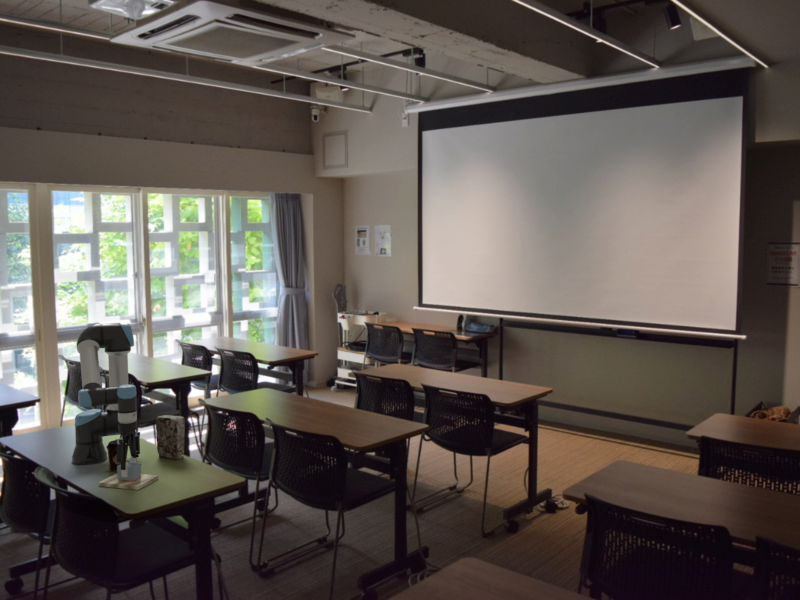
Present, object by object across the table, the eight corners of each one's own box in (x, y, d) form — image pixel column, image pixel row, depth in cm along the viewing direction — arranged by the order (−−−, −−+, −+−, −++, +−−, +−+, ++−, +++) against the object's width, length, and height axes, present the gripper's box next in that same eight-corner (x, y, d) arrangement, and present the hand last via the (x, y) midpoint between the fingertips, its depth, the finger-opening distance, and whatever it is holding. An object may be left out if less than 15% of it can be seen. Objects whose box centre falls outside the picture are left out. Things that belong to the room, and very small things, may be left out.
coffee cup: (131, 467, 307) (130, 440, 306) (118, 473, 300) (117, 445, 299) (116, 465, 310) (115, 438, 309) (103, 471, 302) (102, 443, 301)
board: (98, 485, 284) (98, 482, 284) (120, 475, 298) (120, 471, 297) (138, 490, 279) (138, 486, 279) (158, 478, 293) (157, 475, 293)
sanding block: (117, 479, 287) (117, 466, 286) (125, 476, 291) (124, 462, 291) (133, 481, 285) (133, 467, 284) (141, 477, 289) (140, 463, 289)
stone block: (186, 456, 324) (185, 415, 323) (178, 460, 318) (177, 419, 316) (163, 454, 328) (162, 413, 327) (154, 458, 321) (153, 417, 320)
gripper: (121, 427, 277) (123, 482, 278) (148, 416, 294) (149, 468, 296) (105, 426, 278) (107, 480, 280) (133, 415, 296) (134, 467, 298)
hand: (129, 474), depth 288 cm, fingers closed on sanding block, 5 cm apart
